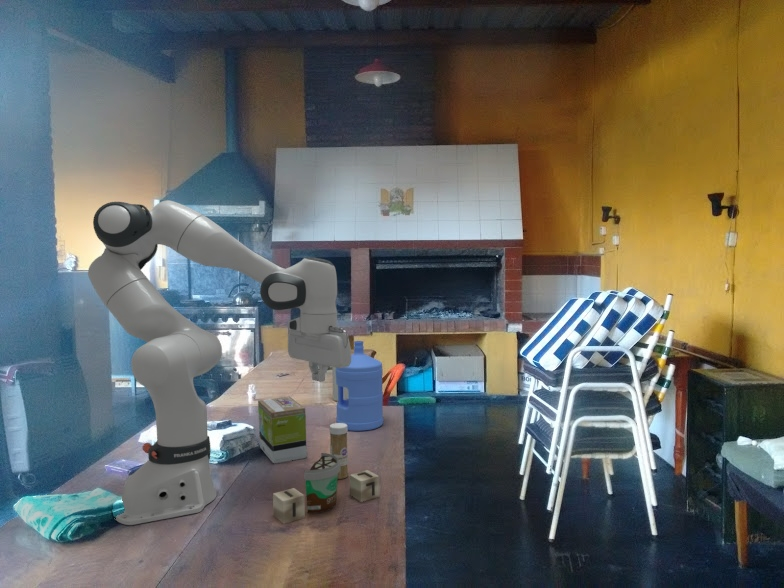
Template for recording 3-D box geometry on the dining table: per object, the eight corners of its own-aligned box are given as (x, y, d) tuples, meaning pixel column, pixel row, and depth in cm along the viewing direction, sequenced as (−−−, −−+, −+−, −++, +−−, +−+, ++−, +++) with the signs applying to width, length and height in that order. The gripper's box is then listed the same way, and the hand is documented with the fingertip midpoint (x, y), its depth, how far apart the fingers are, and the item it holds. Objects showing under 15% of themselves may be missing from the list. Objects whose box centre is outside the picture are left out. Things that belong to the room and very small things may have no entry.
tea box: (258, 448, 171) (257, 399, 170) (291, 443, 175) (290, 395, 174) (272, 464, 158) (271, 411, 157) (307, 458, 162) (306, 406, 161)
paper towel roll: (330, 399, 229) (329, 345, 227) (345, 397, 231) (344, 344, 230) (336, 403, 222) (335, 347, 221) (351, 401, 225) (350, 346, 223)
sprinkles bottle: (341, 481, 146) (340, 428, 145) (326, 477, 148) (325, 426, 147) (351, 474, 150) (350, 423, 149) (336, 471, 152) (336, 421, 151)
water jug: (385, 418, 201) (384, 338, 199) (380, 432, 185) (379, 345, 183) (341, 417, 202) (339, 338, 200) (332, 431, 187) (330, 345, 185)
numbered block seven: (361, 502, 133) (361, 480, 133) (349, 495, 137) (349, 473, 137) (379, 497, 136) (379, 475, 135) (367, 490, 140) (367, 469, 140)
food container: (332, 518, 125) (331, 472, 124) (304, 515, 126) (303, 471, 126) (347, 494, 137) (347, 453, 136) (322, 493, 138) (322, 452, 138)
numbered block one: (284, 524, 123) (283, 500, 122) (273, 515, 127) (272, 492, 126) (305, 518, 125) (304, 494, 125) (294, 509, 130) (293, 487, 129)
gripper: (357, 327, 136) (357, 385, 137) (303, 319, 150) (303, 372, 151) (337, 330, 131) (336, 390, 132) (283, 321, 145) (283, 376, 146)
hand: (318, 380), depth 142 cm, fingers closed
